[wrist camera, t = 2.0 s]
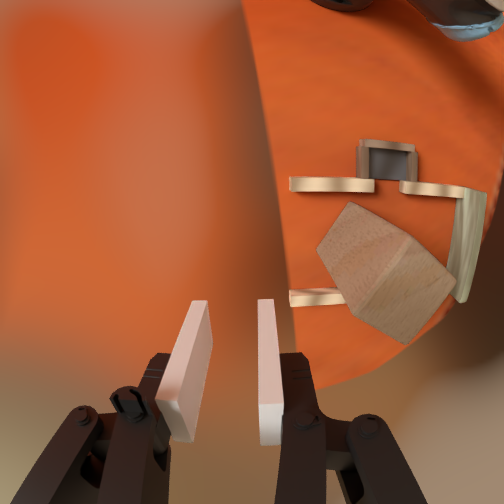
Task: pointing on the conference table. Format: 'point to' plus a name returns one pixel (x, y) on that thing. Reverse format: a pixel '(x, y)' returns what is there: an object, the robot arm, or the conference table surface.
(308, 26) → the conference table surface
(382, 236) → the wooden block
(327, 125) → the conference table surface
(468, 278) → the tray
